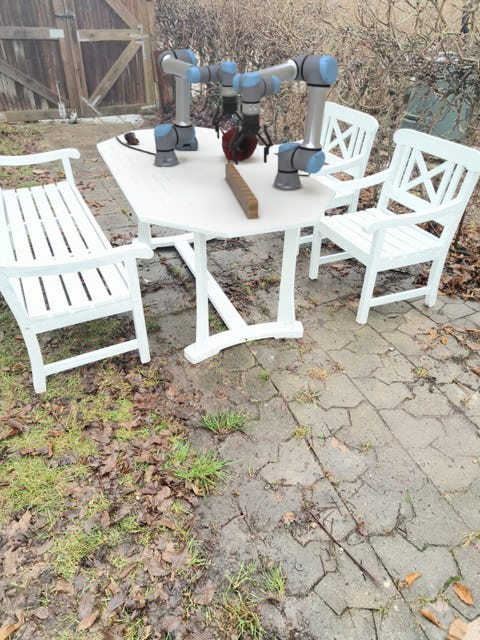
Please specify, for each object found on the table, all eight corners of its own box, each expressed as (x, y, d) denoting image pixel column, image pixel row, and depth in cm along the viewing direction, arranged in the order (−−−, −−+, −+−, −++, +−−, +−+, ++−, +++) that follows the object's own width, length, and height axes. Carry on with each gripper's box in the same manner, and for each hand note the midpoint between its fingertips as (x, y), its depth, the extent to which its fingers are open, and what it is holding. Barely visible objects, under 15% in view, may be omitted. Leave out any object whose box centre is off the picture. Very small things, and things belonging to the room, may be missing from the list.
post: (225, 178, 268) (225, 163, 263) (232, 177, 269) (232, 163, 264) (248, 218, 215) (249, 201, 211) (257, 217, 216) (258, 200, 211)
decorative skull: (218, 132, 305) (218, 129, 282) (252, 124, 304) (255, 121, 281) (225, 164, 312) (225, 164, 288) (258, 157, 311) (261, 156, 288)
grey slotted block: (198, 150, 320) (196, 121, 309) (173, 151, 319) (170, 122, 308) (198, 145, 335) (196, 116, 324) (174, 145, 334) (171, 117, 322)
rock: (136, 143, 345) (123, 144, 341) (134, 131, 342) (121, 132, 338) (140, 143, 336) (127, 145, 332) (139, 131, 332) (125, 132, 328)
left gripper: (207, 97, 233) (209, 140, 245) (254, 95, 237) (253, 137, 249) (205, 95, 239) (207, 137, 251) (250, 93, 243) (250, 134, 255)
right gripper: (224, 116, 190) (225, 167, 202) (281, 113, 194) (279, 163, 206) (221, 113, 196) (222, 162, 208) (276, 110, 200) (274, 159, 212)
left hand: (230, 137), depth 250 cm, fingers open, 13 cm apart
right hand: (250, 163), depth 207 cm, fingers open, 13 cm apart
